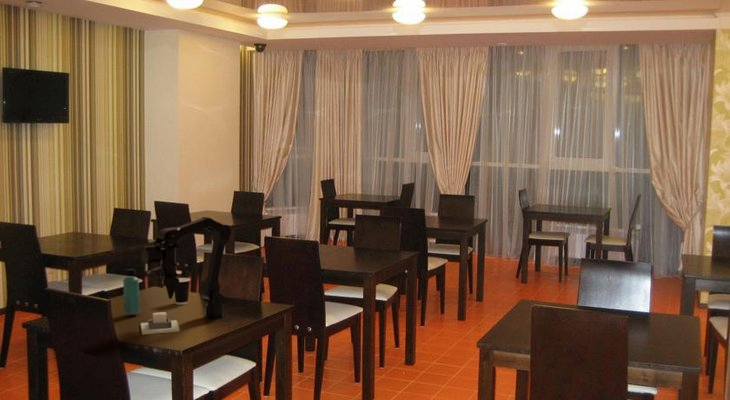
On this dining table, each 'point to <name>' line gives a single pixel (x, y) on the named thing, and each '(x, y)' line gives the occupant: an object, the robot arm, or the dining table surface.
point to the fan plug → (159, 317)
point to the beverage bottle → (131, 293)
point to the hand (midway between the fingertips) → (170, 298)
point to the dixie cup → (182, 291)
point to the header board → (159, 327)
